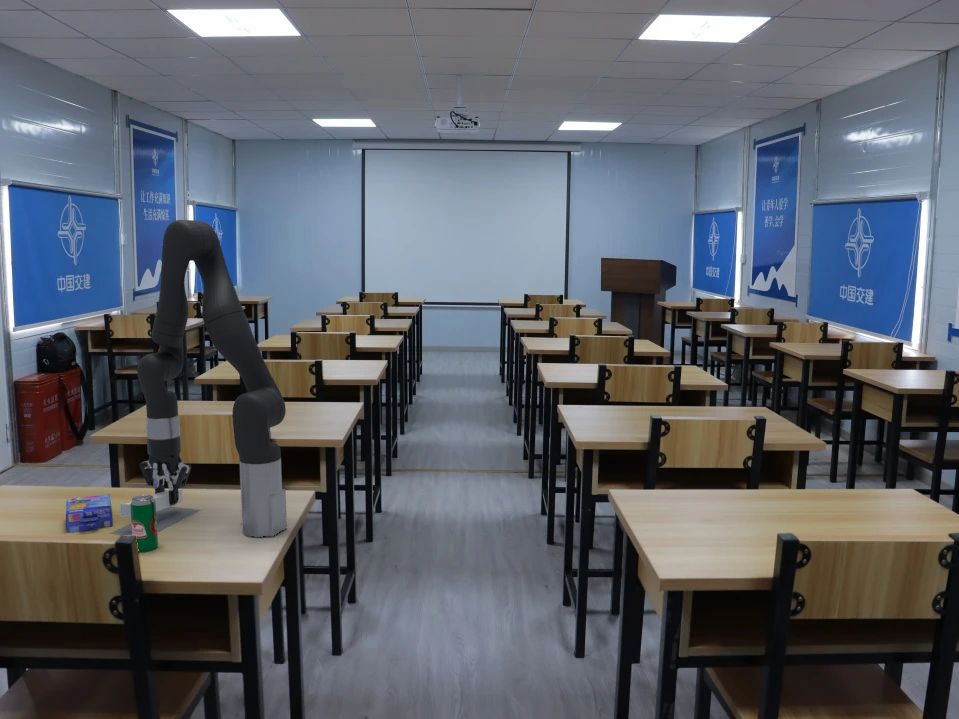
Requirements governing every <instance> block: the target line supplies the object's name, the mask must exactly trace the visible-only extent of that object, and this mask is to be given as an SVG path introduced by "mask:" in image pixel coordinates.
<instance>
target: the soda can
mask: <svg viewBox="0 0 959 719" xmlns="http://www.w3.org/2000/svg"><path fill="white" fill-rule="evenodd" d="M152 495H153V494H140V495H136V496H133V497H132V498H131V501H130V502H131V503H130V508H131V519H130V520H131V522H130V524H131V523H132V535H136V536H137V543H138V549H139V552H138V553H147V552H152V551H155V550H156V549H158V548H159V539H158V538H159V537H158V532H157V517H156V501H155V500H154V498H153V496H152Z"/></svg>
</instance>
